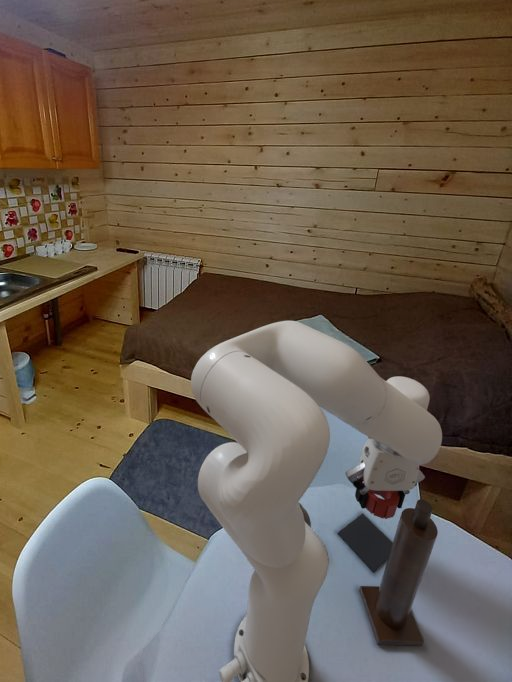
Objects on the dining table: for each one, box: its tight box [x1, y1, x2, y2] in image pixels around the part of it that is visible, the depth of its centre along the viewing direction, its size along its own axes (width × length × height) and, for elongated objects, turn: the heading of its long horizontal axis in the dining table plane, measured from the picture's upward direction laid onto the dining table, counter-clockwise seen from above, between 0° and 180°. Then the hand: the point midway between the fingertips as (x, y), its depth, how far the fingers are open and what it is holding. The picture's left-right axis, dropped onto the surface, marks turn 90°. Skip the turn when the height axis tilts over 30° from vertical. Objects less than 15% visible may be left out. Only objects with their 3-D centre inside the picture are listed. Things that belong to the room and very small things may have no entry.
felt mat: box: [337, 513, 393, 573], centre depth 77 cm, size 9×9×1 cm
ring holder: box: [358, 498, 439, 646], centre depth 59 cm, size 8×8×29 cm
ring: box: [362, 482, 399, 520], centre depth 73 cm, size 7×7×4 cm
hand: (378, 501), depth 73 cm, fingers closed on ring, 7 cm apart
